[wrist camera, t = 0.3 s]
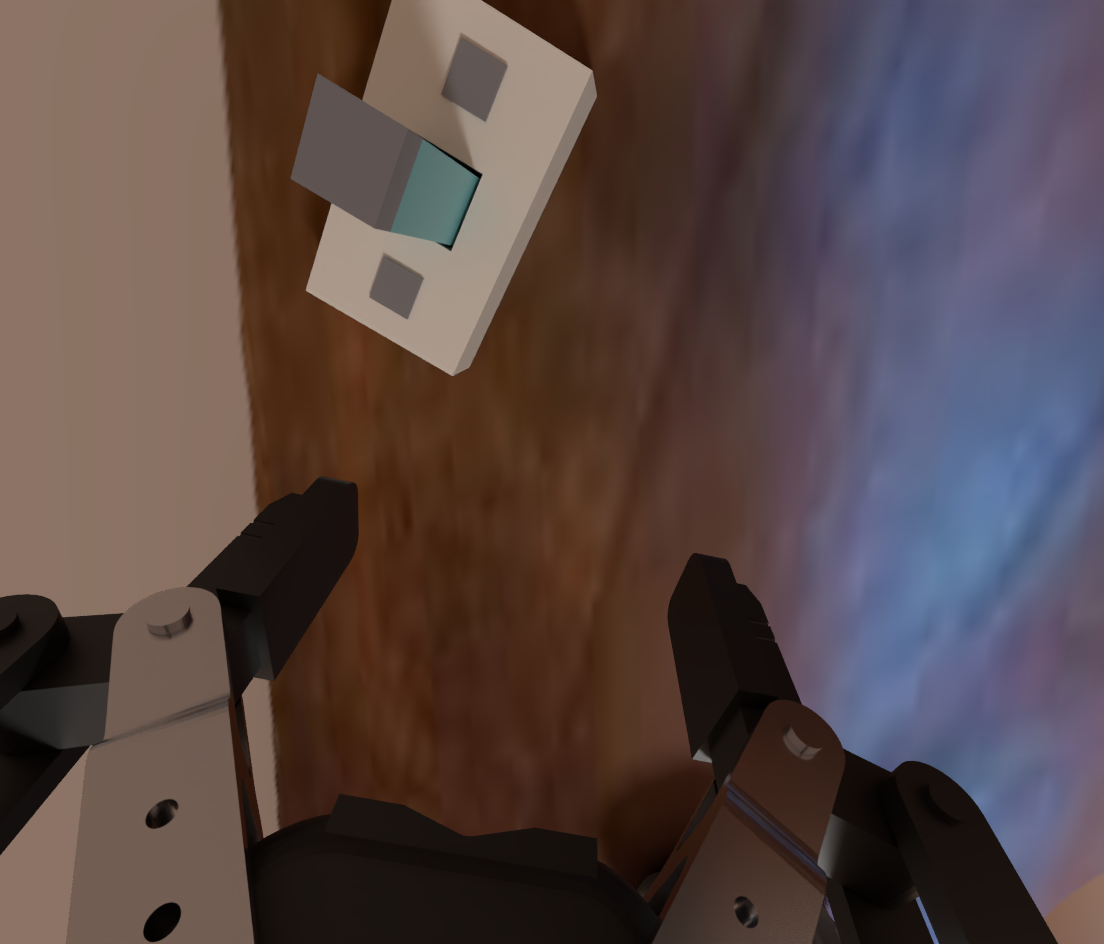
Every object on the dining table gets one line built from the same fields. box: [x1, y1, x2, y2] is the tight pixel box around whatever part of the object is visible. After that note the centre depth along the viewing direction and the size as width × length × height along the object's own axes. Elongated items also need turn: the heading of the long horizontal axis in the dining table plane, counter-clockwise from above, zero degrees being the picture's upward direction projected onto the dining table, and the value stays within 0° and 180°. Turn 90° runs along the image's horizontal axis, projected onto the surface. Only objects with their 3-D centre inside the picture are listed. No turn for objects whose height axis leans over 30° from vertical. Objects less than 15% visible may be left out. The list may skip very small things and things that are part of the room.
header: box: [306, 0, 597, 376], centre depth 32 cm, size 20×12×4 cm, turn 151°
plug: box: [291, 74, 481, 246], centre depth 28 cm, size 4×4×14 cm
